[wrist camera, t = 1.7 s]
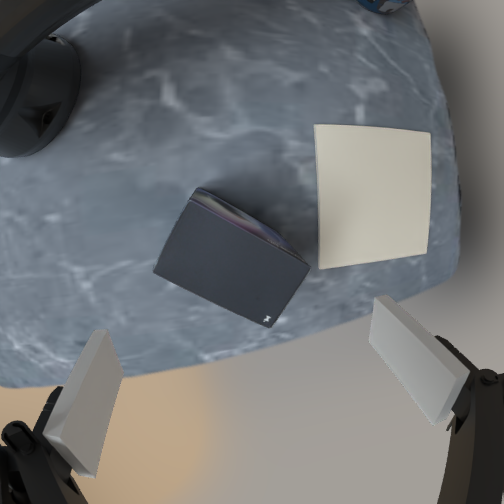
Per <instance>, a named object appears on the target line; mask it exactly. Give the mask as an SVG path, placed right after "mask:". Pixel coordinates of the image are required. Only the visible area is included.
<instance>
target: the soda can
mask: <svg viewBox="0 0 504 504" xmlns="http://www.w3.org/2000/svg"><path fill="white" fill-rule="evenodd" d="M356 1H357V2H358V3H359V4H360V5H361V6H362V7H364V8H365V9H367V10H369V11H372V12H376V13H382V14H389V13H393V12H394V11H396V10H398V9H399V8H401V7H402V6H404V5H406V4H407V3H409V2H411V1H412V0H356Z"/></svg>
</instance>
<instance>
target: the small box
mask: <svg viewBox="0 0 504 504" xmlns="http://www.w3.org/2000/svg"><path fill="white" fill-rule="evenodd" d="M310 270H311V266H309V265H308V264H307V263H306V262H305V260H304V259H303V258H302V257H301V256H300V255H299V254H298V253H297V252H296V251H295V250H294V249H293V247H292V246H291V245H290V244H289V243H288V242H287V241H286V240H285V239H284V238H283V237H282V236H281V235H280V234H279V233H278V232H276V231H275V230H273V229H271V228H270V227H268V226H266V225H265V224H263V223H261V222H260V221H258V220H256V219H255V218H253V217H251V216H249V215H248V214H246V213H244V212H243V211H241V210H239V209H237V208H236V207H234V206H232V205H230V204H228V203H227V202H225V201H223V200H221V199H220V198H218V197H216V196H214V195H212V194H210V193H208V192H207V191H205V190H203V189H201V188H196V190H195V191H194V193H193V194H192V196H191V197H190V199H189V200H188V202H187V204H186V205H185V207H184V208H183V210H182V212H181V214H180V216H179V218H178V220H177V221H176V223H175V225H174V227H173V229H172V231H171V233H170V235H169V237H168V239H167V241H166V243H165V245H164V247H163V249H162V251H161V253H160V255H159V257H158V259H157V261H156V263H155V265H154V267H153V271H152V272H153V273H154V274H156V275H158V276H160V277H162V278H164V279H166V280H168V281H170V282H172V283H174V284H176V285H177V286H179V287H181V288H183V289H185V290H187V291H189V292H191V293H193V294H195V295H197V296H199V297H201V298H203V299H206V300H208V301H210V302H212V303H214V304H216V305H218V306H220V307H222V308H225V309H227V310H229V311H231V312H233V313H235V314H237V315H240V316H242V317H244V318H246V319H248V320H251V321H253V322H255V323H258V324H260V325H262V326H264V327H266V328H269V329H270V328H272V327H273V326H274V324H275V323H276V321H277V320H278V318H279V317H280V315H281V314H282V312H283V311H284V310H285V308H286V307H287V305H288V304H289V302H290V301H291V299H292V298H293V296H294V295H295V293H296V292H297V290H298V289H299V287H300V286H301V284H302V283H303V281H304V280H305V278H306V277H307V275H308V274H309V272H310Z"/></svg>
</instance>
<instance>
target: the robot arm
mask: <svg viewBox="0 0 504 504" xmlns="http://www.w3.org/2000/svg"><path fill="white" fill-rule="evenodd" d="M100 1H101V0H0V156H1V157H6V158H14V157H24V156H28V155H31V154H33V153H35V152H37V151H39V150H40V149H42V148H43V147H44V146H46V145H47V144H48V143H49V142H50V141H51V140H52V139H53V138H54V137H55V136H56V135H57V134H58V132H59V131H60V130H61V128H62V127H63V125H64V124H65V122H66V120H67V119H68V117H69V115H70V113H71V111H72V109H73V106H74V104H75V101H76V98H77V95H78V91H79V86H80V77H81V69H80V62H79V58H78V55H77V53H76V51H75V49H74V48H73V47H72V46H71V45H70V44H69V43H68V42H67V41H65V40H64V39H63V38H61V37H60V36H58V35H55V34H52V33H53V32H54V31H55V30H57V29H58V28H59V27H61V26H62V25H64V24H65V23H66V22H68V21H69V20H71V19H72V18H74V17H75V16H77V15H78V14H80V13H81V12H83V11H84V10H86V9H88V8H89V7H91V6H93V5H94V4H96V3H98V2H100ZM368 342H369V343H370V344H371V345H372V346H373V348H374V349H375V350H376V352H377V353H378V354H379V355H380V357H381V358H382V359H383V361H384V362H385V363H386V364H387V366H388V367H389V368H390V370H391V371H392V372H393V374H394V375H395V376H396V377H397V379H398V380H399V381H400V383H401V384H402V385H403V387H404V388H405V389H406V390H407V392H408V393H409V395H410V396H411V397H412V399H413V400H414V401H415V402H416V404H417V405H418V406H419V408H420V409H421V411H422V412H423V413H424V415H425V416H426V417H427V419H428V420H429V421H430V423H431V424H432V425H433V426H434V425H436V424H438V423H439V422H441V421H443V420H445V419H446V418H447V416H448V415H449V413H450V411H451V410H452V411H453V412H454V413H455V415H454V417H453V418H452V420H451V422H450V424H449V425H448V427H447V429H446V431H448V430H449V429H450V427H451V426H452V429H451V437H450V445H449V451H448V457H447V463H446V468H445V474H444V478H443V482H442V486H441V491H440V495H439V498H438V502H437V504H501V501H502V494H503V493H504V373H503V374H497V373H496V372H494V371H493V370H490V369H482V370H479V369H478V368H476V367H475V366H474V365H473V364H472V363H471V362H470V361H469V360H468V359H467V358H466V357H465V356H464V355H463V354H462V353H459V351H458V350H457V349H456V348H454V346H453V345H452V344H451V343H450V342H449V341H448V340H446V339H444V338H442V337H440V336H438V335H437V336H433V335H432V334H431V333H430V332H428V331H427V330H426V329H425V328H424V327H423V326H422V325H421V324H420V323H419V322H418V321H416V320H415V319H414V318H413V317H412V316H411V315H410V314H409V313H407V312H406V311H405V310H404V309H403V308H402V307H401V306H400V305H398V304H397V303H396V302H395V301H394V300H393V299H392V298H390V297H389V296H388V295H383V296H378V297H375V300H374V307H373V314H372V321H371V328H370V334H369V340H368ZM123 374H124V371H123V369H122V367H121V364H120V362H119V359H118V356H117V354H116V351H115V349H114V346H113V343H112V340H111V338H110V335H109V332H108V329H106V330H94V331H93V333H92V335H91V336H90V338H89V340H88V342H87V344H86V345H85V347H84V349H83V351H82V353H81V355H80V356H79V358H78V360H77V362H76V364H75V366H74V368H73V370H72V372H71V374H70V376H69V377H68V379H67V381H66V383H65V385H64V387H61V386H58V387H57V388H56V389H55V390H54V391H53V392H52V393H51V394H50V396H49V398H48V400H47V402H46V404H45V406H44V408H43V411H42V412H41V414H40V416H39V418H38V420H37V422H36V425H35V427H34V429H33V431H31V430H30V428H28V426H27V425H26V423H24V422H22V421H13V422H10V423H9V424H7V425H6V426H5V428H4V429H3V431H2V434H1V439H2V440H3V441H4V442H5V444H6V445H7V446H1V444H0V504H88V502H87V501H86V499H85V497H84V496H83V494H82V492H81V491H80V489H79V487H78V485H77V484H76V482H75V480H74V478H73V477H72V476H71V475H70V473H71V470H72V469H73V470H74V471H75V472H76V473H77V474H78V475H80V476H86V477H91V478H96V474H97V469H98V465H99V461H100V456H101V452H102V448H103V444H104V440H105V436H106V432H107V429H108V425H109V421H110V418H111V414H112V411H113V407H114V404H115V400H116V397H117V394H118V390H119V387H120V384H121V381H122V378H123Z"/></svg>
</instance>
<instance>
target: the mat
mask: <svg viewBox="0 0 504 504" xmlns="http://www.w3.org/2000/svg"><path fill="white" fill-rule="evenodd" d="M314 136H315V152H316V171H317V196H318V268H319V269H327V268H334V267H342V266H348V265H355V264H362V263H369V262H375V261H382V260H388V259H395V258H401V257H407V256H414V255H420V254H426V253H427V244H428V234H429V221H430V205H431V138H430V133H426V132H419V131H411V130H402V129H392V128H381V127H369V126H352V125H323V124H315V125H314Z"/></svg>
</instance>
